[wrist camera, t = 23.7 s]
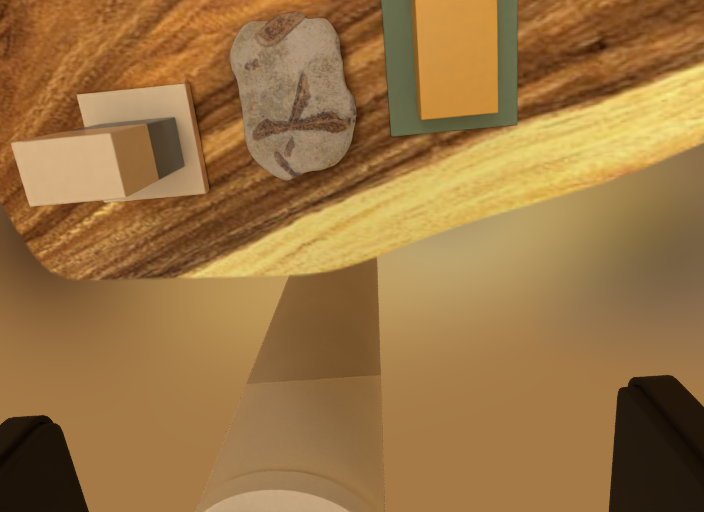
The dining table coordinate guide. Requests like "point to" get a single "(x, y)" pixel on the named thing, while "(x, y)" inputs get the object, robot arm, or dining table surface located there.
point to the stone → (293, 94)
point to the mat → (403, 73)
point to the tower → (118, 150)
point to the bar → (455, 57)
